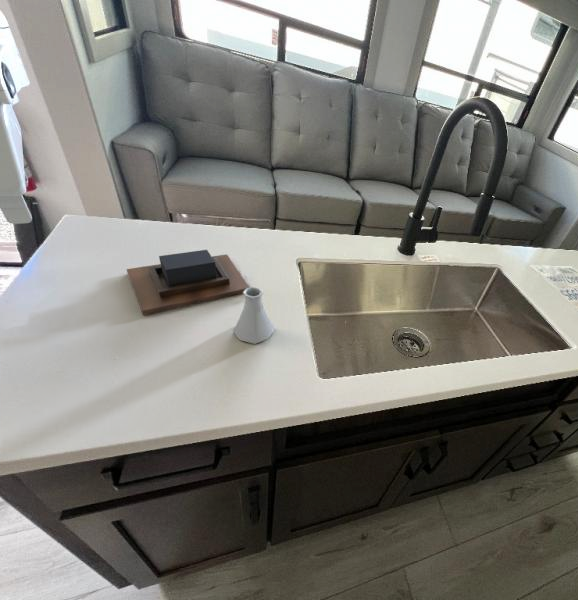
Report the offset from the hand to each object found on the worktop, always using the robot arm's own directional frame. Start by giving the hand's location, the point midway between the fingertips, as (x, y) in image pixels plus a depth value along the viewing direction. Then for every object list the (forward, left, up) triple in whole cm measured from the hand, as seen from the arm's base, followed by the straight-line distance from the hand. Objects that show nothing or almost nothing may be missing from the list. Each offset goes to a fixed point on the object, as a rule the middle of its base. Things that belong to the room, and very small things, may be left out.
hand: (20, 202), depth 37 cm
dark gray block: (+18, +16, -26) cm, 35 cm away
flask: (+24, -4, -27) cm, 36 cm away
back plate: (+18, +16, -27) cm, 36 cm away
